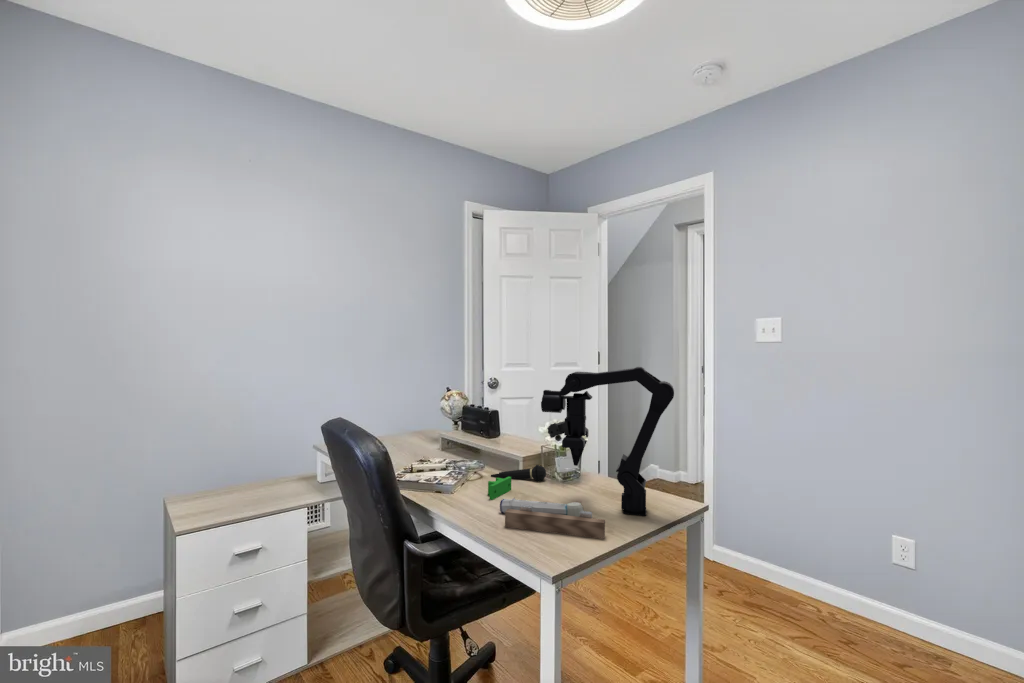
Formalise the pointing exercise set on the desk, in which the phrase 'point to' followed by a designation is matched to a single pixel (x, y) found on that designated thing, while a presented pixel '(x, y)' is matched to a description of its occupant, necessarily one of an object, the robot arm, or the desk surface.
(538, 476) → the microphone
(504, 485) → the pipe clamp
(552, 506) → the grey elongated rounded piece
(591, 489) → the desk surface
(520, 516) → the rail
